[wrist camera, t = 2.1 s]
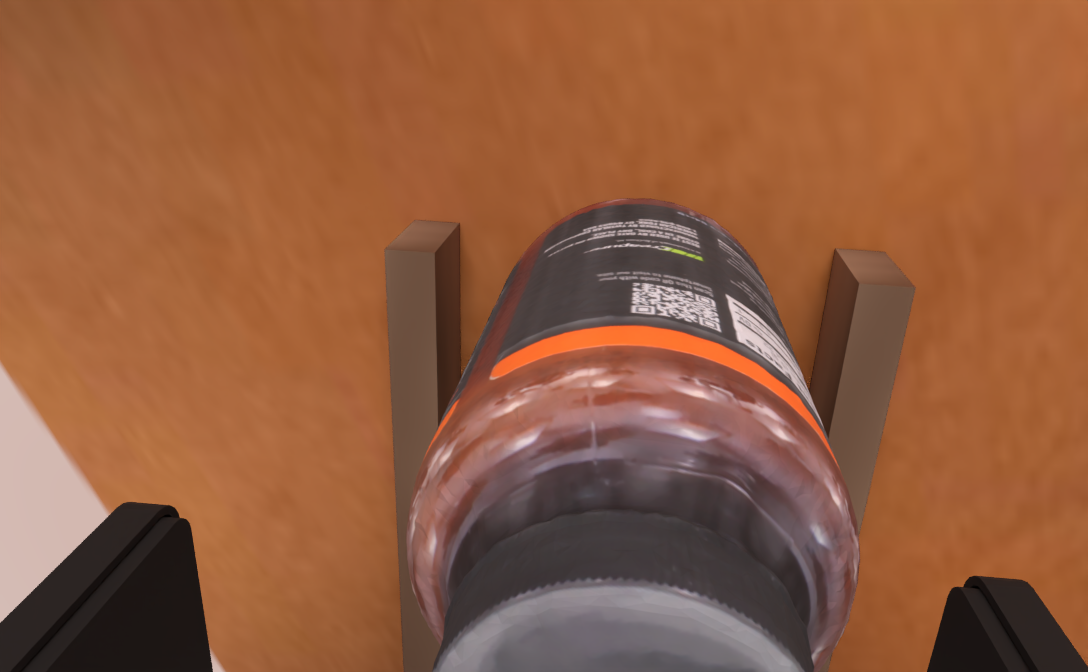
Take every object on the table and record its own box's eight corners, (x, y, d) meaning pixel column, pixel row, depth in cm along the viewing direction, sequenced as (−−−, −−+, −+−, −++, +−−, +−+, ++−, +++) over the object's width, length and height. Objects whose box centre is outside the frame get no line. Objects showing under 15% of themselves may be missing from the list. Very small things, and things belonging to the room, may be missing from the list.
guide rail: (885, 252, 17) (948, 324, 13) (771, 793, 23) (793, 943, 20) (414, 220, 18) (353, 279, 14) (430, 747, 24) (390, 881, 21)
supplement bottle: (555, 462, 20) (447, 970, 10) (465, 238, 18) (209, 576, 8) (801, 401, 19) (985, 924, 8) (732, 150, 17) (858, 423, 6)
